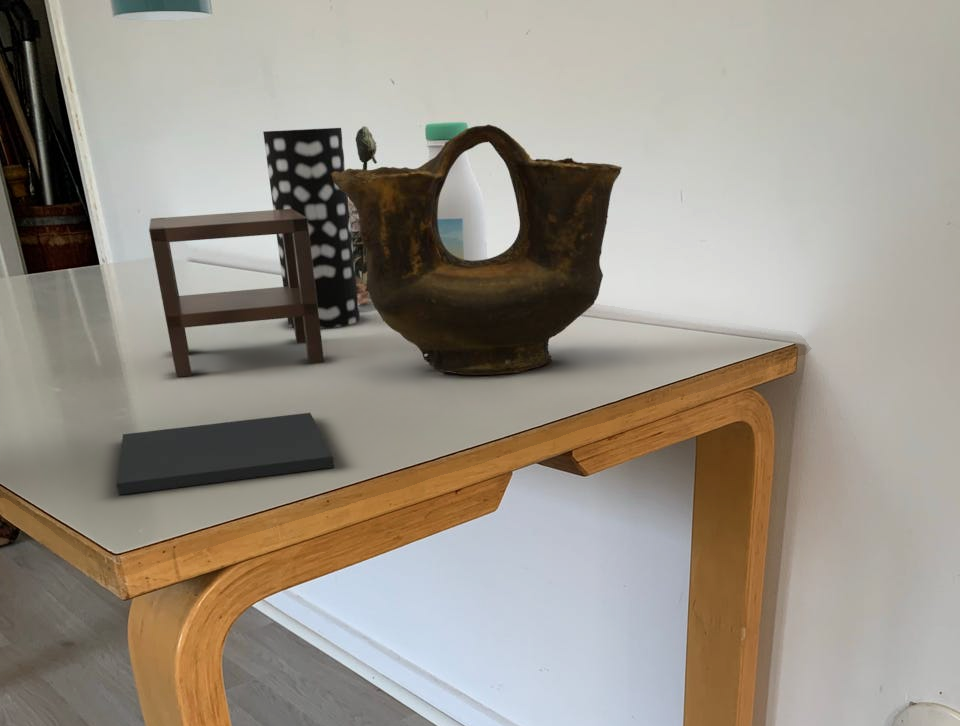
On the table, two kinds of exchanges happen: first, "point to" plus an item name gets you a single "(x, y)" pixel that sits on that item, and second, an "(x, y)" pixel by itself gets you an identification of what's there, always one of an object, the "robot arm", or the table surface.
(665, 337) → the table surface
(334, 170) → the spotted tube
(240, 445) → the mat
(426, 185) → the pottery vessel
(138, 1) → the teal tin can
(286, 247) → the shelf
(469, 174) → the milk bottle
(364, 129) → the plant with pod
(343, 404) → the table surface
